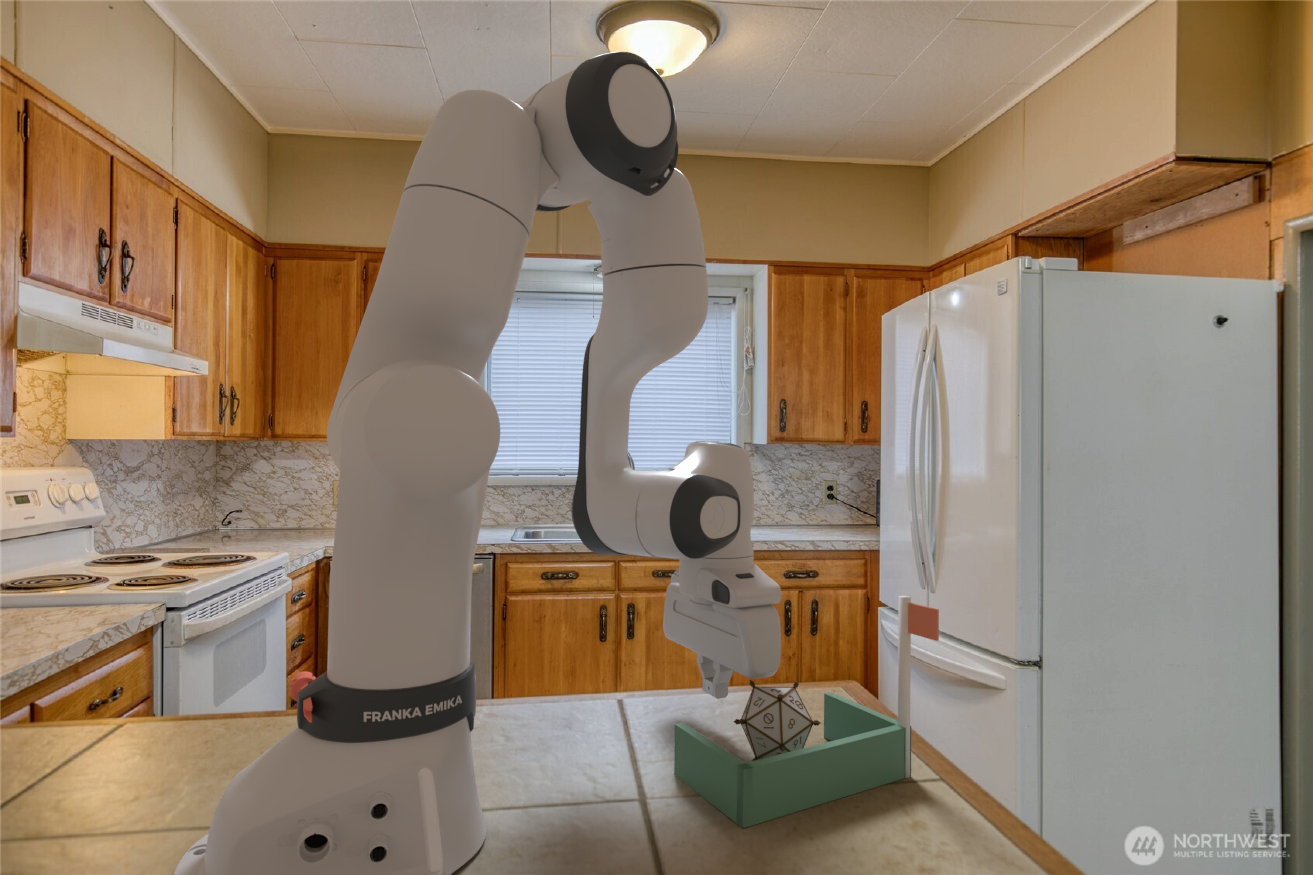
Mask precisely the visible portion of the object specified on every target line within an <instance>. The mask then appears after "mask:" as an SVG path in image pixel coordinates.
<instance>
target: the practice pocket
mask: <svg viewBox="0 0 1313 875" xmlns="http://www.w3.org/2000/svg"><path fill="white" fill-rule="evenodd" d="M897 599H898V602H897V603H898V604H897V605H898V608H897V609H898V610H897V611H898V612H897V613H898V615H897V616H898V617H897V618H898V619H897V621H898V622H897V623H898V626H897V627H898V629H897V630H898V631H897V632H898V633H897V636H898V637H897V638H898V639H897V719H896V718H892V717H890V716H888V715H885V714H883V713H881V712H878V711H876V710H874V709H871V708H869V707H867V706H864V705H862V704H860V703H857V702H856V701H852V700H850V699H848V698H846V697H843V696H841V695H839V694H836V693H835V692H832V691H830V692H829V691H828V692H824V693H823V738H824V739H826V740H828V741H827V742H826V741H825V742H823V743H819V744H815V745H811V746H808V747H804V748H803V749H799V750H795V751H791V752H787V753H783V754H779V755H775V756H771V757H767V758H763V759H758V760H755V761H753V760H751V761H748V762H745V761H744V760H742V759H740V757H737V756H736V755H735V754H733V753H731V752H730V751H728V750H727V749H725V748H724V747H722V746H721V745H719V744H718V743H715V742H714V741H713V740H711V739H710V738H708V737H707V736H705V734H704V735H703V734H702V733H701V732H699V731H697V730H695V729H694V728H693V727H691V726H689V725H688V724H687V723H685V722H679V723H675V724H674V754H673V755H674V756H673V757H674V758H673V759H674V761H673V762H674V763H673V764H674V766H673V768H674V770H673V775H674V776H675V777H677V778H678V779H679V780H681V781H682V782H683V783H685V785H687V786H689V788H691V789H692V790H693V791H695V792H696V793H697V794H698V795H699V796H701V797H702V798H704V799H705V800H706V801H708V802H709V803H710V804H711V805H713V807H715V808H716V809H717V810H719V811H720V812H721V813H723V814H724V815H725V816H726V817H728V818H729V819H730V820H732V821H733V822H734V823H736V825H738V826H740V828H742V829H745V828H749V827H751V826H755V825H758V824H761V823H764V822H768V821H771V820H775V819H778V818H780V817H784V816H787V815H790V814H794V813H797V812H800V811H803V810H806V809H809V808H810V809H811V808H814V807H816V806H820V805H822V804H826V803H829V802H833V801H835V800H839V799H843V798H845V797H849V796H851V795H855V794H859V793H862V792H866V791H868V790H871V789H875V788H878V787H880V786H881V787H882V786H884V785H887V784H891V783H894V782H897V781H900V780H903V779H909V778H910V777H912V725H911V677H912V676H911V670H912V669H911V668H912V666H911V665H912V664H911V662H912V660H911V657H912V656H911V654H912V653H911V651H912V649H911V645H912V635H915V636H918V637H921V638H925V639H928V640H932V641H936V642H939V637H940V636H939V633H940V629H939V628H940V626H939V624H940V617H939V615H940V614H939V612H940V611H939V608H934V607H929V606H926V605H922V604H917V603H913V602H912V597H911V596H909V595H898V598H897ZM911 634H912V635H911Z"/></svg>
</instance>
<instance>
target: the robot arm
mask: <svg viewBox="0 0 1313 875" xmlns="http://www.w3.org/2000/svg"><path fill="white" fill-rule="evenodd" d="M671 96H672V95H671V92H670V90H669V89H668V86H667V85H666V83H665V81H664V80H663V78H662V77H661V76H660V74H659V73H658V72H657V70H656V69H655V68H654V67H653V66H652V64H650V62H648V61H647V60H646V59H645V58H643V57H641V56H640V55H638V54H636V53H633V52H630V51H629V52H628V51H614V52H608V53H603V54H599V55H596V56H594V57H591V58H588V59H586V60H585V61H583V62H581V63H580V64H579V65H578V66H577V67H576V68H575V69H573V70H571V71H569V72H567V73H565V74H563V75H562V76H560V77H557V78H556V79H554V80H553V81H550V82H548V83H547V84H544V85H543V86H542V87H540V88H539V89H537V91H535V92H534V93H533V94H532V95H531V96H529V97H528V98H527V99H526V100H524V101H523V102H522V103H521V104H520V105H519V104H518V103H517V102H514V100H512V99H510V98H509V97H506V96H504V95H502V94H499V93H496V92H494V91H490V90H484V89H468V90H463V91H460V92H457V93H455V94H454V95H452V96H450V97H449V98H447V99H446V100H445V101H444V102H443V103H442V105H441V106H440V107H439V109H438V111H437V113H436V115H435V116H434V117H433V120H432V122H431V123H430V124H429V127H428V128H427V131H426V133H425V135H424V137H423V139H422V140H421V144H420V146H419V148H418V150H417V153H416V154H415V156H414V159H413V162H412V164H411V168H410V169H409V173H408V175H407V179H406V181H405V184H404V187H403V190H402V193H401V198H400V200H399V204H398V207H397V210H396V214H395V217H394V220H393V223H392V227H391V230H390V234H389V238H388V241H387V244H386V246H385V250H384V253H383V257H382V260H381V264H380V267H379V270H378V274H377V277H376V281H375V283H374V286H373V289H372V291H371V295H370V297H369V301H368V303H367V305H366V308H365V312H364V314H363V317H362V320H361V322H360V326H359V328H358V332H357V335H356V337H355V339H354V343H353V345H352V349H351V352H350V355H349V358H348V361H347V364H346V366H345V369H344V373H343V375H342V377H341V378H342V379H341V381H340V385H339V387H338V391H337V393H336V396H335V399H334V401H333V402H334V403H333V406H332V409H331V412H330V414H329V419H328V423H327V427H326V441H327V447H328V451H329V455H330V456H331V459H332V461H333V463H334V465H335V467H336V468H337V469H338V471H339V477H338V478H339V480H338V492H337V493H338V494H337V495H338V496H337V505H336V508H337V509H336V520H335V529H334V531H335V532H334V542H333V549H332V550H333V551H332V558H331V564H330V565H331V566H330V571H329V572H330V573H329V587H328V589H329V590H328V620H327V621H328V622H327V623H328V625H327V626H328V628H327V634H328V635H327V661H326V662H327V664H326V665H327V666H326V667H327V668H326V669H327V670H326V671H325V672H323V673H322V674H321V675H318V676H317V677H316V676H315V675H313V672H310V671H306V670H305V671H300V672H298V673H295V674H294V675H293V678H291V679H290V681H289V682H290V683H289V684H288V686H289V694H290V697H291V698H292V699H293V700H294V701H296V702H297V703H296V722H297V726H296V727H294V728H293V729H292V730H291V731H289V732H288V733H287V734H285V735H284V736H282V738H281V739H279V740H278V741H276V743H275V744H273V745H272V746H271V747H270V748H268V749H267V750H265V751H264V752H263V753H262V754H261V755H259V756H258V757H257V758H256V759H254V760H253V761H252V762H250V763H249V764H248V765H247V766H245V767H244V768H243V769H242V770H240V771H239V772H238V773H237V774H236V775H235V776H234V777H233V778H232V779H231V780H230V782H229V783H228V784H227V786H226V788H225V789H224V791H223V794H222V795H221V797H220V798H219V802H218V804H217V805H216V808H215V811H214V813H213V817H212V820H211V823H210V827H209V831H208V833H206V834H205V835H203V836H202V837H201V838H200V839H198V840H197V841H196V842H195V843H193V844H192V845H191V846H190V847H189V848H188V850H186V851H185V853H184V854H183V855H182V857H181V858H180V860H179V861H178V864H177V865H176V867H175V869H174V872H173V873H172V875H452V874H453V873H454V872H457V870H459V869H460V868H461V867H462V866H464V865H465V864H467V862H469V860H471V859H472V858H473V857H474V856H475V855H476V854H477V853H478V851H479V850H480V849H481V847H482V846H483V844H484V841H486V840H485V839H486V837H487V830H488V829H487V823H486V819H485V817H484V813H483V810H482V805H481V801H480V796H479V791H478V786H477V778H476V772H475V766H474V756H473V747H472V746H473V745H472V733H471V732H473V730H474V725H475V724H474V723H475V717H476V711H477V677H476V670H475V665H476V664H475V663H473V661H471V631H472V630H471V629H472V627H471V625H472V592H473V591H472V588H473V587H472V586H473V572H474V562H475V557H476V552H477V550H476V549H477V545H478V540H479V535H480V534H479V533H480V529H481V526H482V520H483V516H484V515H483V514H484V508H485V502H486V497H487V496H486V495H487V491H488V484H489V483H488V482H489V476H490V470H491V468H492V465H493V463H494V461H495V459H496V456H497V453H498V450H499V447H500V441H501V424H500V423H501V422H500V418H499V414H498V410H497V407H496V405H495V403H494V401H493V399H492V398H491V396H490V395H489V393H488V391H486V389H485V388H484V387H483V386H482V385H481V384H480V383H479V381H480V379H481V376H482V374H483V371H484V369H485V367H486V364H487V363H488V360H489V358H490V355H491V353H492V351H493V348H494V347H495V344H496V342H497V341H498V339H499V337H500V335H501V334H502V332H503V330H504V329H505V328H506V325H507V322H508V319H509V315H510V311H511V308H512V304H513V299H514V296H515V293H516V289H517V285H518V280H519V278H520V274H521V270H522V266H523V263H524V259H525V256H526V252H527V249H528V248H527V247H528V244H529V240H530V236H531V233H532V229H533V224H534V219H535V214H536V212H545V213H547V212H558V211H563V210H565V209H568V208H569V207H571V206H572V205H577V204H580V203H583V202H587V201H588V202H590V204H587V205H586V208H587V210H588V211H589V213H590V214H591V215H592V217H593V219H594V222H595V224H596V227H597V230H598V233H599V236H600V255H601V256H600V262H601V274H602V275H601V276H602V277H601V278H602V301H601V302H602V304H601V309H600V315H599V320H598V324H597V326H596V329H595V332H594V333H593V335H591V337H590V338H589V340H588V342H587V344H586V347H585V351H584V357H583V363H582V365H583V366H582V376H581V377H582V378H581V390H580V394H581V396H580V417H579V419H580V420H579V441H578V442H579V444H578V445H579V446H578V464H577V465H578V467H577V476H576V479H575V481H576V482H575V485H574V486H575V487H574V489H573V494H572V500H571V508H570V509H571V519H572V524H573V527H574V530H575V531H576V534H577V536H578V538H579V539H580V541H581V542H582V544H583V545H584V546H585V547H586V548H587V549H588V550H589V551H591V553H595V554H596V555H603V556H604V555H605V556H607V555H608V556H609V555H610V556H612V555H615V556H616V555H617V556H620V555H621V556H626V555H632V556H640V557H649V558H657V559H660V558H661V559H662V558H665V559H671V560H679V563H678V564H679V567H677V568H676V569H675V571H674V572H673V574H672V575H671V577H670V584H668V585H667V588H666V590H665V599H664V606H663V620H662V629H663V632H664V635H665V637H666V639H667V640H669V641H672V642H673V643H676V644H678V645H680V646H683V647H684V648H687V649H688V650H690V651H693V652H695V653H696V663H697V666H698V669H699V672H700V675H701V677H702V678H701V679H702V681H701V682H702V683H701V685H702V687H701V688H702V692H705V693H706V694H708V695H710V696H712V697H714V698H715V699H717V700H719V699H724V698H727V697H728V695H729V682H730V681H731V678H732V676H733V674H734V672H735V673H738V674H740V675H742V676H743V677H745V678H747V679H749V680H757V679H763V678H764V679H765V678H768V677H772V676H774V675H775V674H776V673H777V671H778V670H779V668H780V663H781V654H782V653H781V652H782V650H781V648H782V645H781V644H782V643H781V642H782V640H781V639H782V637H781V636H782V633H781V632H782V630H781V629H782V628H781V627H782V626H781V619H780V615H779V612H778V609H777V608H776V607H775V605H774V604H779V603H780V602H781V599H782V589H781V588H782V587H781V586H780V585H779V584H778V583H777V582H776V581H775V580H774V579H773V578H771V577H770V576H769V575H767V573H765V572H764V571H763V570H762V569H761V568H760V567H759V566H758V565H757V564H756V563H754V561H755V560H754V556H755V555H754V547H753V544H752V538H751V530H752V525H753V523H754V518H755V493H754V491H755V490H754V479H753V470H752V465H751V459H750V455H749V453H748V451H747V450H745V449H744V448H742V447H741V446H739V445H737V444H735V443H730V442H726V441H725V442H722V441H718V440H717V441H715V440H698V441H695V442H691V443H689V444H688V445H687V446H686V448H685V453H684V457H683V458H682V459H681V460H680V461H679V462H678V463H676V464H675V465H672V466H671V467H668V469H665V470H664V469H663V470H635V469H633V468H632V467H631V465H630V464H629V461H628V460H629V459H628V455H629V454H628V451H629V450H628V449H629V435H630V434H629V431H630V430H629V429H630V414H631V413H630V412H631V410H630V409H631V401H632V396H633V393H634V391H635V388H636V386H637V385H638V383H640V380H642V379H643V377H645V376H647V374H648V373H650V372H651V371H652V370H654V369H655V368H657V367H658V366H660V365H663V363H665V362H667V361H669V360H671V359H672V358H675V357H676V356H678V355H679V354H680V353H681V352H683V351H684V350H685V349H686V348H687V347H689V346H690V344H691V343H693V341H694V340H696V338H697V336H698V335H699V333H700V332H701V331H702V328H703V326H704V325H705V324H706V323H705V322H706V320H707V314H708V308H709V307H708V306H709V285H708V284H709V283H708V274H707V273H708V272H707V262H706V261H707V260H706V251H705V250H706V249H705V242H704V237H703V235H704V234H703V230H702V227H701V226H702V225H701V219H700V214H699V213H698V212H699V211H698V206H697V203H696V199H695V196H694V192H693V189H692V188H693V187H692V185H691V183H690V182H689V180H688V178H687V176H686V175H685V174H684V173H682V172H681V171H680V170H679V169H677V168H676V166H677V162H678V156H679V143H678V140H677V139H678V125H677V124H678V123H677V118H676V117H677V116H676V113H675V112H676V111H675V106H674V103H673V99H672V97H671Z"/></svg>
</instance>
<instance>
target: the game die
mask: <svg viewBox="0 0 1313 875" xmlns="http://www.w3.org/2000/svg"><path fill="white" fill-rule="evenodd" d="M749 685H750V687H751V688H752V690H751V692H750V694H749V698H748V700H747V703H746V705H745V707H744V710H743V712H742V715H741V718H740V719H739V718H736V719H735V720H734V721H733V723H734V724H735V725H740V726H741V727H742V729H743V732H744V735H745V736H746V739H747V741H748V744H749V746H750V748H751V750H752V753H753V755H754V758H752V761H755V760H759V759H763V758H767V757H771V756H775V755H779V754H783V753H787V752H791V751H795V750H799V749H803V748H805V745H806V743H807V740H808V737H809V735H810V732H811V730H812V728H813V726H815V727H818V726H819V725H820V724H822V722H820V721H819V720H818V719H816V720H815V719H814V720H813V719H812V717H811V715H810V714H809V711H808V709H807V707H806V706H805V704H804V702H803V700H802V698H801V696H800V695H799V692H798V690H797V688H798V687H799V686H800V683H799V680H796V681H794V683H793V686H756V683H755V682H754V680H752V679H749Z"/></svg>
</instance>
